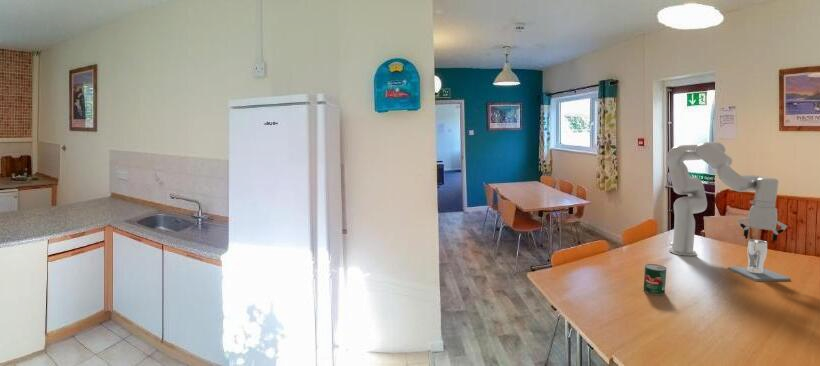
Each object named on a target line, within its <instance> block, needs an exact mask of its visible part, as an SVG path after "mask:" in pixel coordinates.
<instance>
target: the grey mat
mask: <svg viewBox="0 0 820 366" xmlns="http://www.w3.org/2000/svg"><path fill="white" fill-rule="evenodd" d="M747 268H748V266H728V267H727V270H729V271H730V272H733V273H734V274H735V273H736V274H738V275H740V276H742V277H745V278H746V279H747V278H748V279H749V280H752V281H754V282H776V281H777V282H783V281H785V282H787V281H791V279H792V278H790V277H787V276H785V275H783V274H779V273H778V272H775V271H773V270H769V269H767V268H764V267H763V274H754V273H750V272H748V271H747Z"/></svg>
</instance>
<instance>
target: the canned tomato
mask: <svg viewBox="0 0 820 366" xmlns="http://www.w3.org/2000/svg"><path fill="white" fill-rule="evenodd" d="M666 280H667V267H666V266H664V265H661V264H656V263H648V264H645V265H644V279H643V289H644V290H643V292H644V291H646V292H648V293H651V294H650V295H652V294H655V295H654V296H663V295H665V294H666V292H665V291H666ZM646 292H645V293H646ZM648 293H647V294H648Z"/></svg>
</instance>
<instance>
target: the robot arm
mask: <svg viewBox="0 0 820 366" xmlns="http://www.w3.org/2000/svg"><path fill="white" fill-rule="evenodd" d="M700 160H703V162H704V163H706V164H707V165H709V166H710V167H711V168H712V169H713V170H715V171H716V174H717V177H718V178H719V179H720V181H721V182H722V183H724V184H725V185H726V186H727V187H729V188H730V189H732V190H733V191H736V192H739V193H741V192H743V193H744V192H753V191H754V199H753V200H749V204H751V206H750V207H749V208H750V209H749V212H748V216H747V217H743V218H739V219H738V220H737V222H738V224H739V226H740V227H741V228H742V229H743V230H744V231H743V237H744V239H748V237H749V231H750V230H749V229H750V228H752V229H759V230H766V231H772V232H773V234H772V239H771V243H772V244H775V242H777V241H778V235H779V234H782V233H783V232H784V231H785V230H786V229H787V228H788V225H786V224H784V223H783V222H781V221H778V209H777V208H776V201H777V195H778V188H779V180H778V179H777V178H774V177H765V176H764V177H763V176H760V175H753V174H751V175H750V174H748V175H741V174H739V173H738V172H736V171H735V170H734V169H733V168H732V167H731V165H732V163H733V158H732V157H731V156H729V155H727V154H726V148H725V146H724V145H723V144H722V143H721V142H717V141H710V142H709V141H707V142H706V141H705V142H702V143H701V142H700V143H699V144H681V145H675V146H673V147H672V148H671V149H669V151H668V152H667V154H666V164H667V166H668V170H669V171H668V172H669V174H670V180H671V184H672V190H673V192H674V193H676V194H677V195H687V196H682V197H679V198H676V199H675V201H674V202H673V205H672V206H673V214H674V221H673V222H674V223H673V225H674V227H673V238H672V242H670V244H669V245H670V246H671V247H670V248H669V250H668V251H669V253H671V252H672V254H674V255H677V256H686V257H693V256H696V255H697V252H696V250H694V242H695V234H696V233H695V232H696V219H695V217H694V214H699V213H703V212H705V211H706V210H707V207H708V199H707V196H706V191H705V186H704V184H703V181H702V180H701V178H698V177H696V176H690V173H689V170H688V167H687V165H686V164H685V161H700ZM745 221H746V222H747V223H746V225H745V224H744V222H745ZM777 225H778V226H779V227H781V228H780V229H777Z"/></svg>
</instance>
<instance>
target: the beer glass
mask: <svg viewBox="0 0 820 366" xmlns="http://www.w3.org/2000/svg"><path fill="white" fill-rule="evenodd" d="M767 253H768V241H765V240H762V239H753V238H751V239H748V244H747V260H748V265H747V267H748V268H747V271H748V272H750V273H754V274H763V268H764V264H765V260H766V257H767Z"/></svg>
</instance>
